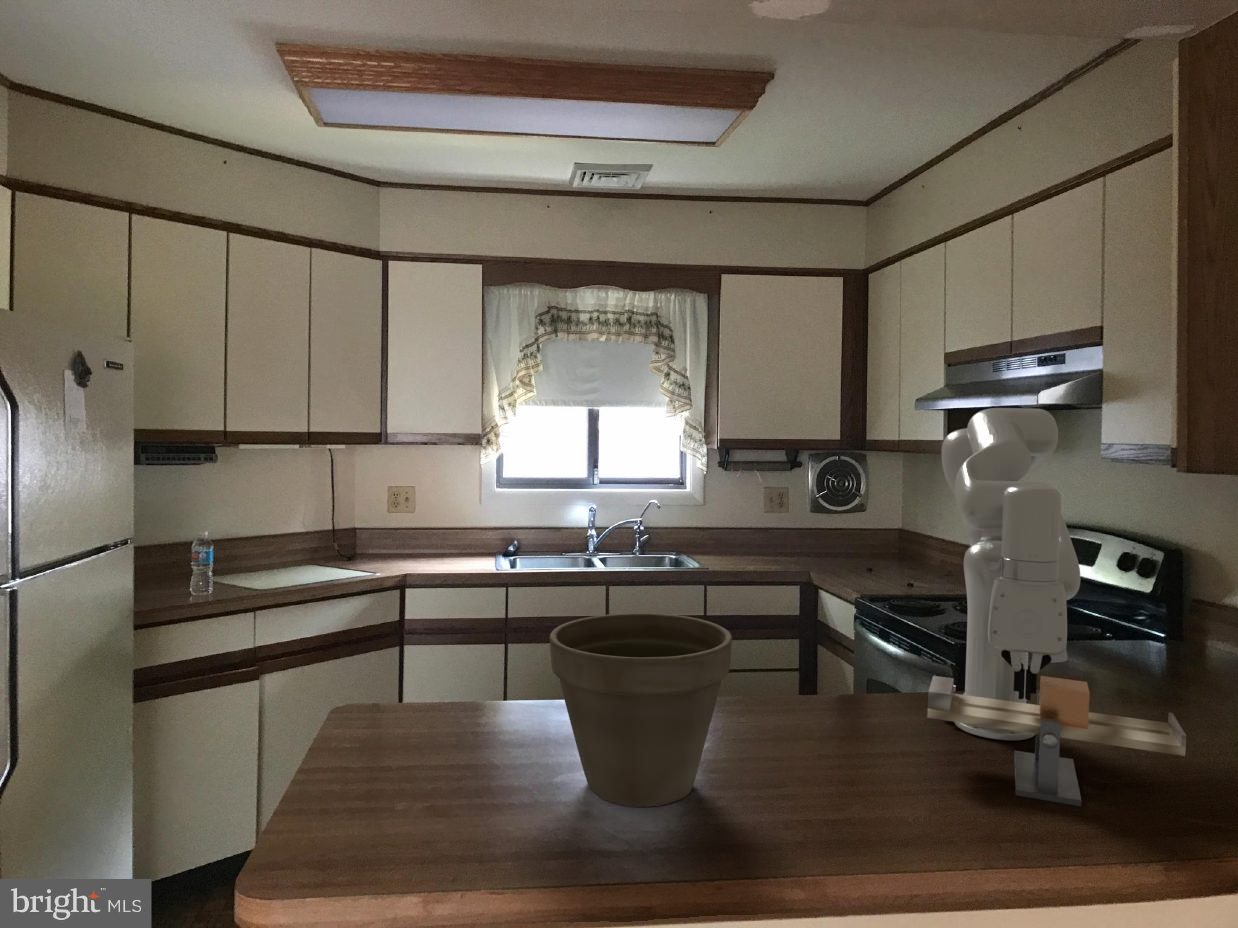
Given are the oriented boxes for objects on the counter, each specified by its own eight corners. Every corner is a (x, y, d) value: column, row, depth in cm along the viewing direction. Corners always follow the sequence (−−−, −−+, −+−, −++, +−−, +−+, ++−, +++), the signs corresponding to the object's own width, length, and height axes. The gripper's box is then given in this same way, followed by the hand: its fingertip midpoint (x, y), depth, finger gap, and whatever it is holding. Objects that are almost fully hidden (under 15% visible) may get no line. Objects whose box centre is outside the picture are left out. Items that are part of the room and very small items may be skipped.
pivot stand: (1015, 795, 120) (1018, 719, 119) (1014, 755, 135) (1017, 688, 134) (1081, 806, 117) (1084, 729, 116) (1072, 764, 131) (1075, 695, 131)
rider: (1039, 728, 123) (1041, 686, 123) (1038, 715, 128) (1040, 675, 128) (1087, 735, 120) (1089, 693, 120) (1084, 722, 126) (1086, 681, 125)
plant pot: (568, 836, 106) (571, 660, 105) (533, 760, 130) (535, 615, 129) (758, 815, 112) (762, 649, 111) (691, 746, 136) (694, 608, 135)
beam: (927, 717, 127) (928, 692, 127) (932, 698, 136) (933, 674, 136) (1185, 755, 114) (1186, 728, 114) (1171, 731, 123) (1173, 706, 123)
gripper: (971, 570, 125) (967, 696, 126) (1089, 579, 119) (1084, 712, 119) (974, 563, 132) (970, 683, 133) (1086, 572, 126) (1081, 698, 126)
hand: (1024, 697), depth 126 cm, fingers closed
